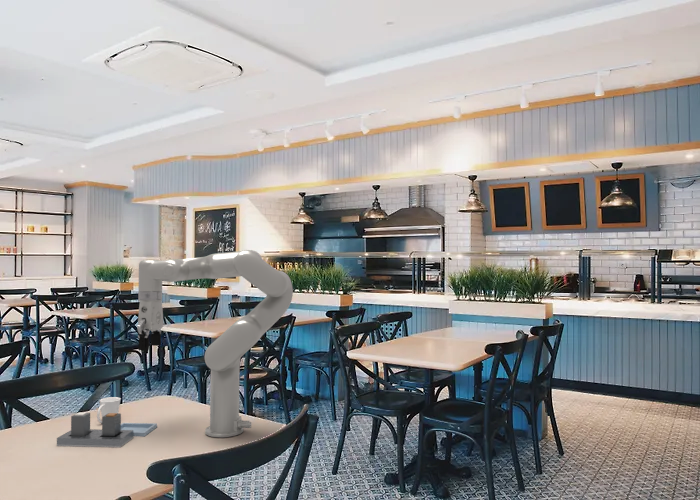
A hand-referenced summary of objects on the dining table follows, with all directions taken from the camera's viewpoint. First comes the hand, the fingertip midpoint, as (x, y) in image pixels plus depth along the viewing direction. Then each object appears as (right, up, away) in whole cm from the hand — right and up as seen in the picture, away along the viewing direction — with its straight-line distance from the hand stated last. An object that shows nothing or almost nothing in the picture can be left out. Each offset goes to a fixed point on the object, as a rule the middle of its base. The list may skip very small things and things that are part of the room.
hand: (149, 347), depth 185 cm
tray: (-5, -28, -1) cm, 29 cm away
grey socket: (-13, -28, -12) cm, 33 cm away
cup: (-19, -29, +10) cm, 35 cm away
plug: (-18, -27, -11) cm, 34 cm away
